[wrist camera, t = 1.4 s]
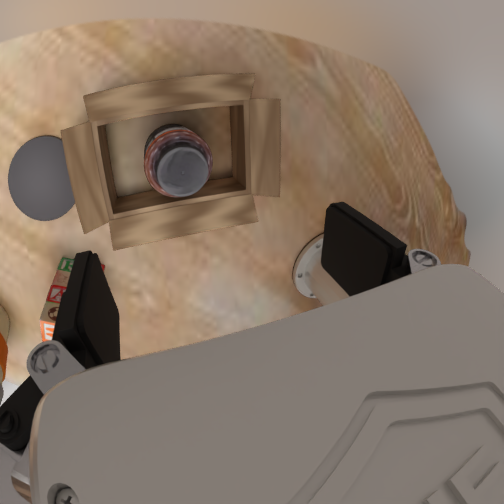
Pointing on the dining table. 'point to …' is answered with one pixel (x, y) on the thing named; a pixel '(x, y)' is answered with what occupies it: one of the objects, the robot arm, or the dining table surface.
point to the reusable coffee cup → (3, 346)
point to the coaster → (41, 179)
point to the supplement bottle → (177, 161)
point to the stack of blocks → (55, 298)
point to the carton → (152, 202)
